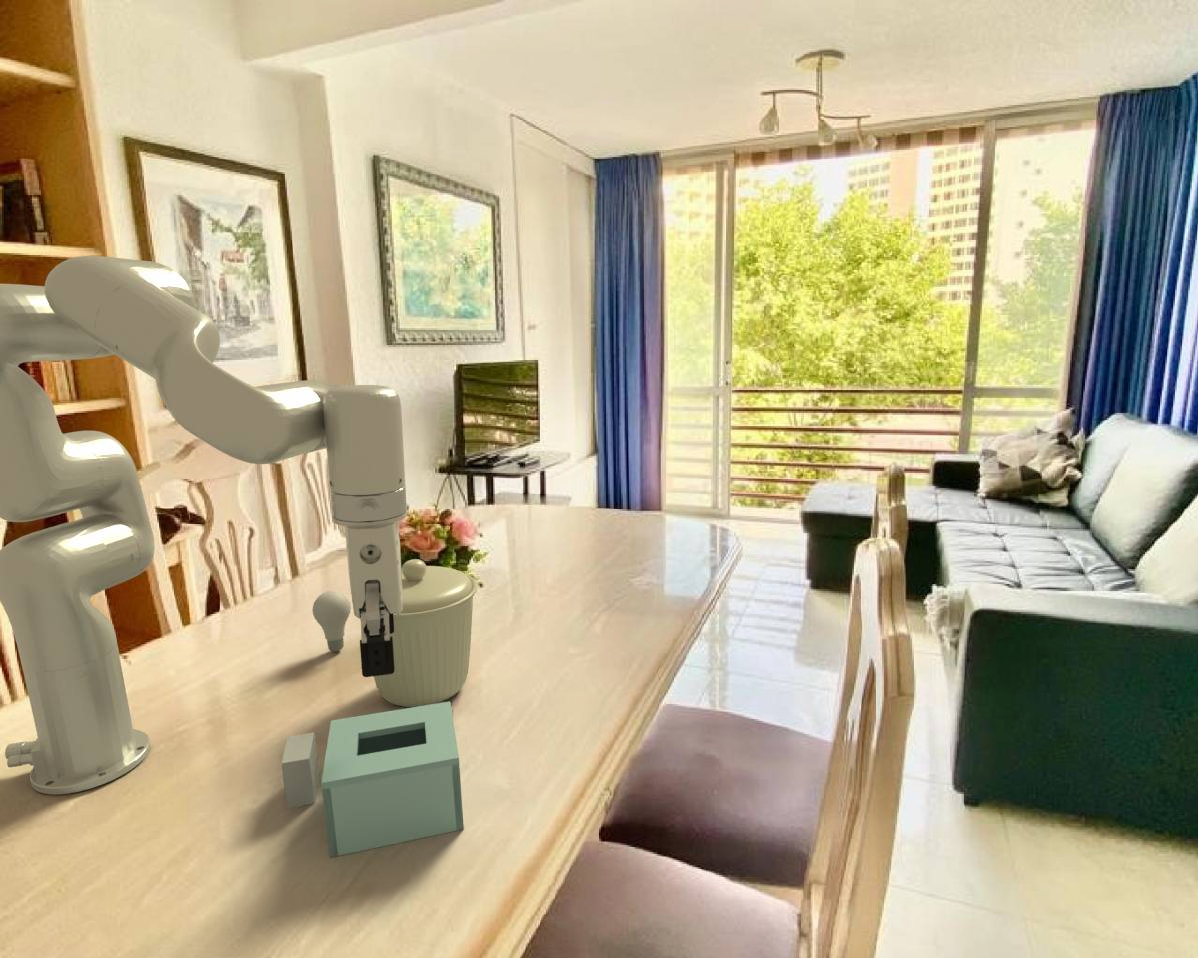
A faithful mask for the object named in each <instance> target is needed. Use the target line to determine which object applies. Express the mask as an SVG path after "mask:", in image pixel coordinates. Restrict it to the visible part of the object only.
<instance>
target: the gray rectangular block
mask: <svg viewBox="0 0 1198 958" xmlns="http://www.w3.org/2000/svg"><path fill="white" fill-rule="evenodd" d="M316 745H317V744H316V736H315V732H309V733H303V734H297V735H291V736H287V739H286V743H285V747H284V752H283V755H282V759H281V762H280V764H281V771H282V772H281V773H282V780H283V785H284V795H285V800H286V809H293V808H296V807H301V806H307V805H311V804H312V805H313V804H315V803H316V799H317V797H316V796H317V792H318V786H319V785H318V784H319V781H320V780H319V779H320V769H319V761H318V751H317V746H316Z"/></svg>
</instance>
